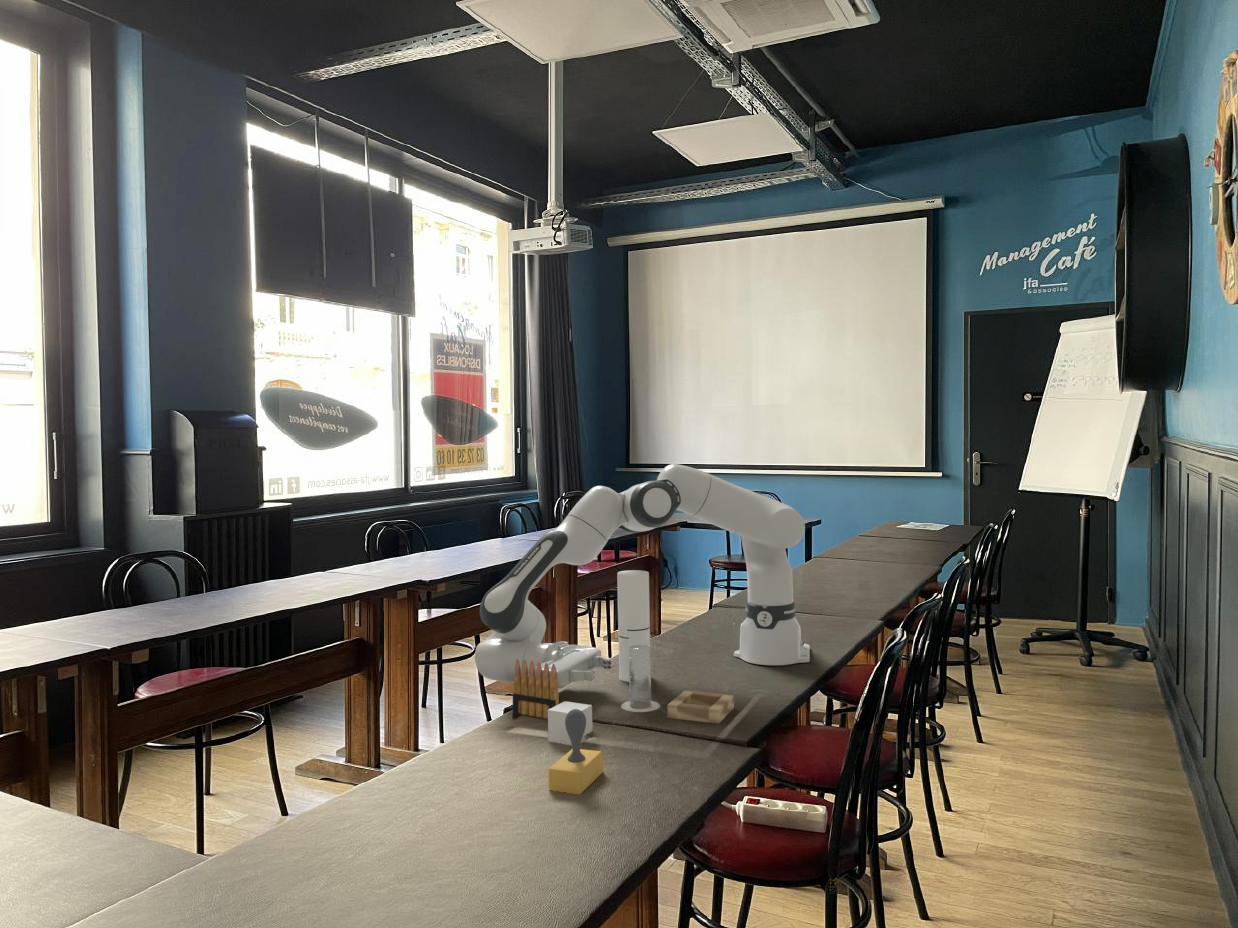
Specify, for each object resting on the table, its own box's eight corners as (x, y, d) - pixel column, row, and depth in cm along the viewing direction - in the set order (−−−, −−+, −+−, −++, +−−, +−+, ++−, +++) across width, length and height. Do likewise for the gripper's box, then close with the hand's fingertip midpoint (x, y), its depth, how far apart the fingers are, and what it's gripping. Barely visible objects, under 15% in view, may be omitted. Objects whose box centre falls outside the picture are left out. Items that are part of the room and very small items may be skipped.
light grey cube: (576, 746, 166) (575, 714, 165) (548, 741, 168) (547, 709, 168) (592, 736, 171) (592, 704, 171) (565, 732, 174) (564, 700, 174)
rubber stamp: (581, 795, 144) (579, 720, 143) (548, 790, 146) (546, 716, 145) (604, 772, 153) (602, 701, 152) (572, 768, 155) (571, 699, 154)
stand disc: (630, 702, 191) (630, 698, 191) (665, 706, 188) (665, 702, 188) (614, 714, 184) (614, 709, 184) (651, 718, 180) (651, 713, 180)
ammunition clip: (561, 723, 179) (560, 663, 178) (556, 726, 177) (554, 665, 176) (517, 715, 184) (516, 657, 183) (512, 718, 182) (510, 659, 182)
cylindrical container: (647, 687, 202) (645, 575, 201) (616, 685, 204) (614, 574, 203) (653, 678, 209) (651, 570, 208) (622, 677, 211) (620, 570, 210)
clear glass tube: (634, 701, 188) (633, 644, 188) (654, 703, 187) (653, 645, 186) (626, 707, 184) (625, 649, 184) (646, 709, 183) (645, 650, 182)
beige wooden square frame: (685, 707, 187) (684, 690, 187) (734, 712, 183) (733, 695, 183) (667, 722, 178) (667, 704, 178) (718, 728, 174) (718, 710, 174)
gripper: (519, 661, 185) (581, 667, 179) (565, 639, 203) (621, 643, 198) (520, 692, 185) (582, 699, 179) (565, 667, 204) (622, 672, 198)
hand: (603, 669), depth 189 cm, fingers open, 8 cm apart
